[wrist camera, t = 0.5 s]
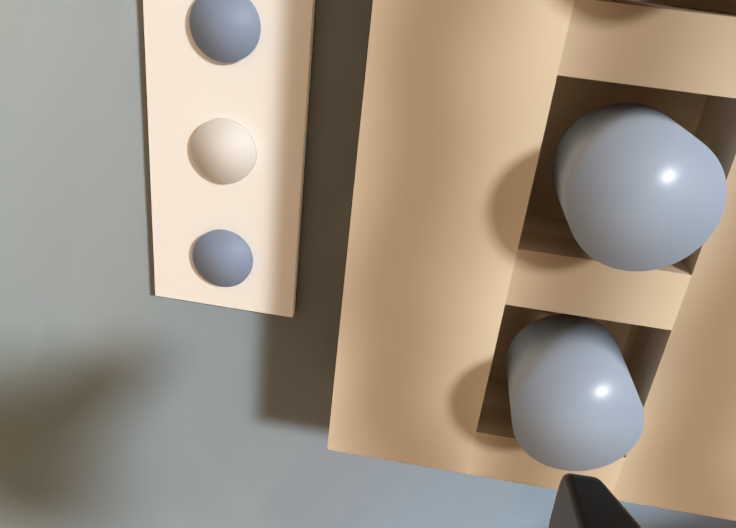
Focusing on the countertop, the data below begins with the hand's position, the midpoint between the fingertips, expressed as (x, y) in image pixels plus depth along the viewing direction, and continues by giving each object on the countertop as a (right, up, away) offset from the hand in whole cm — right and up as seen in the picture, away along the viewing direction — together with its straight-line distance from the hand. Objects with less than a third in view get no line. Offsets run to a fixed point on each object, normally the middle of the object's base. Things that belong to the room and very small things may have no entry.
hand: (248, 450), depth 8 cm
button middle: (+7, +5, +7) cm, 11 cm away
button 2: (+7, 0, +9) cm, 11 cm away
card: (-2, +6, +10) cm, 12 cm away
